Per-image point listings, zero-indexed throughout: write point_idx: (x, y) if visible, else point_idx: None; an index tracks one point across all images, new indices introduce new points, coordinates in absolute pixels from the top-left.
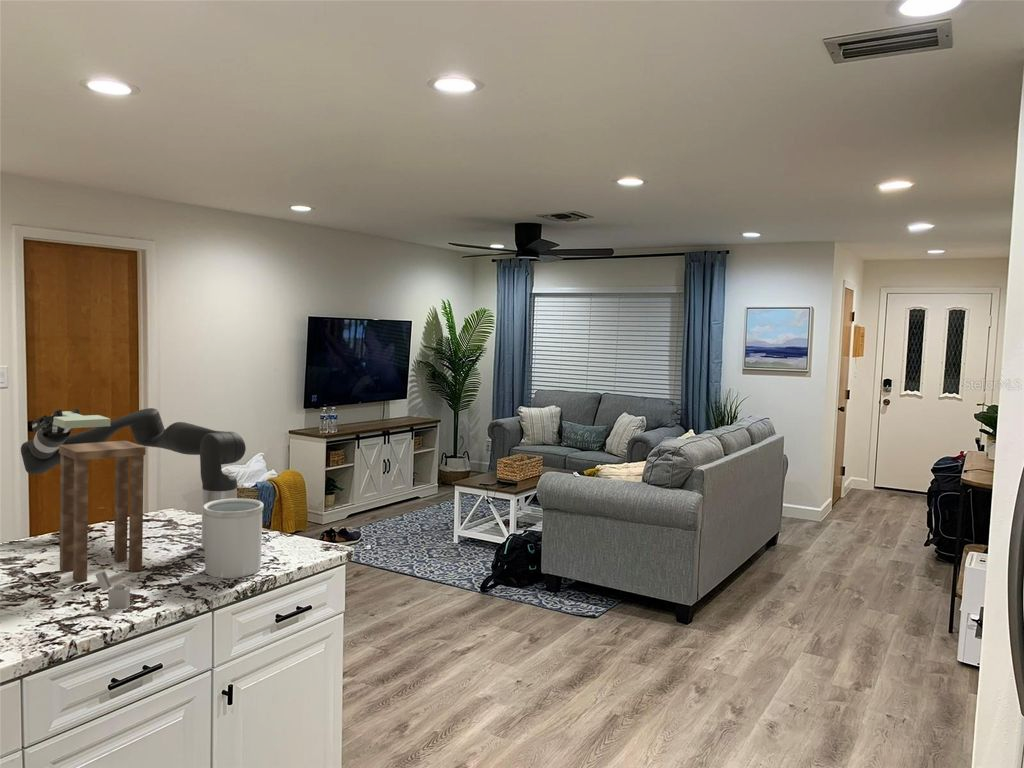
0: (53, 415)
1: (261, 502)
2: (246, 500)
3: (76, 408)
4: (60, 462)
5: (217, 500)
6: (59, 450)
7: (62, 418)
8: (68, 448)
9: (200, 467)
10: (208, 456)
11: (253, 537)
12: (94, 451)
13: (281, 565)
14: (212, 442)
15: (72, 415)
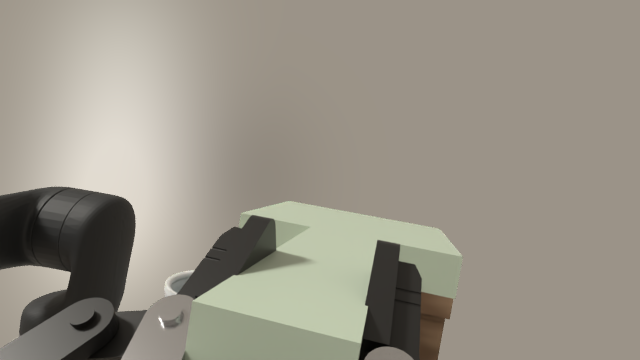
0: (416, 339)
1: (182, 272)
2: (170, 284)
3: (258, 216)
4: (439, 345)
5: None
6: (449, 308)
7: (432, 238)
8: None
9: (83, 295)
10: (126, 248)
11: None
12: None
13: None
14: (133, 213)
15: (352, 240)
